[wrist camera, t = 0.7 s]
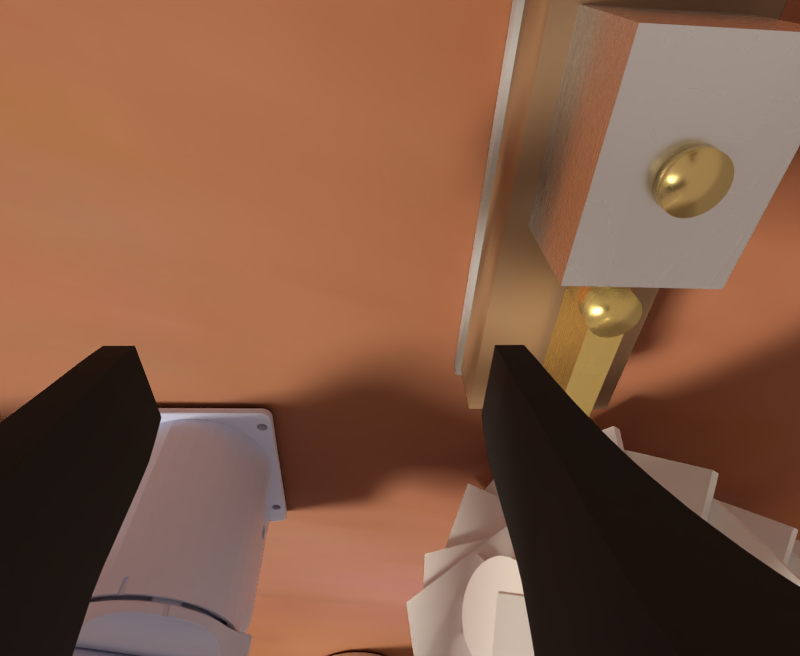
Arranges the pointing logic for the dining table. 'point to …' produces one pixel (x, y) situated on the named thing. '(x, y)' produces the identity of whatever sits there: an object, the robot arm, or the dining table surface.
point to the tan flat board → (516, 188)
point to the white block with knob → (665, 145)
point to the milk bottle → (357, 654)
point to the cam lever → (589, 338)
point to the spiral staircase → (499, 575)
